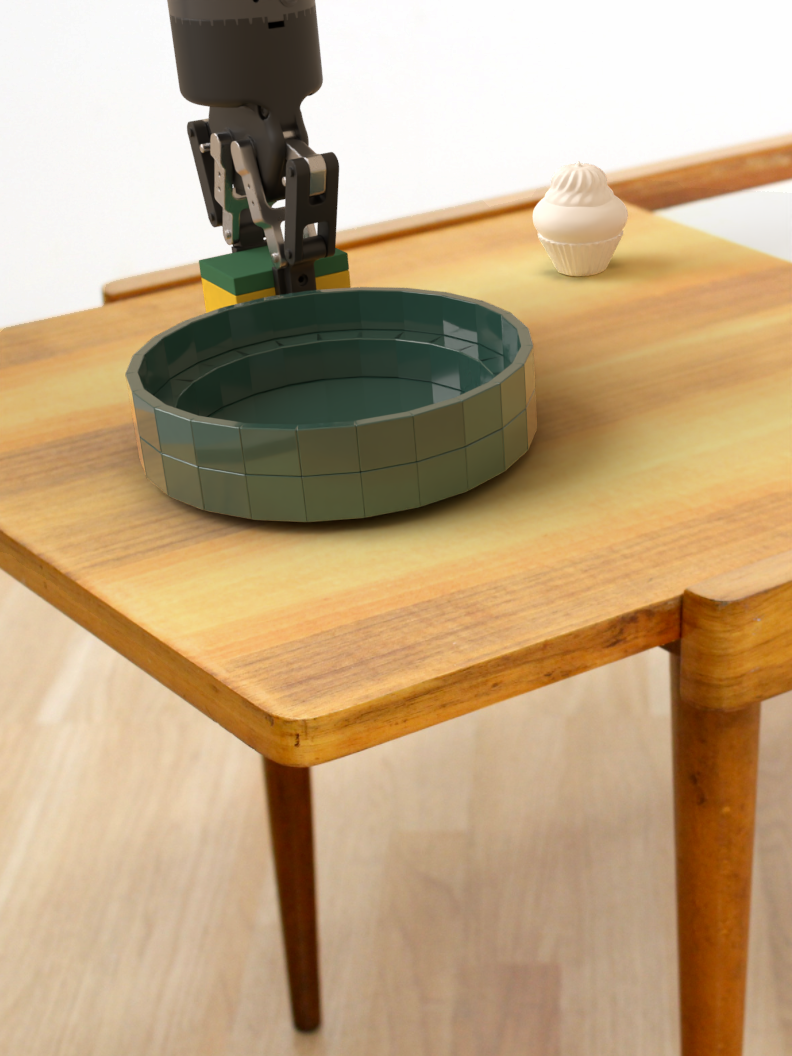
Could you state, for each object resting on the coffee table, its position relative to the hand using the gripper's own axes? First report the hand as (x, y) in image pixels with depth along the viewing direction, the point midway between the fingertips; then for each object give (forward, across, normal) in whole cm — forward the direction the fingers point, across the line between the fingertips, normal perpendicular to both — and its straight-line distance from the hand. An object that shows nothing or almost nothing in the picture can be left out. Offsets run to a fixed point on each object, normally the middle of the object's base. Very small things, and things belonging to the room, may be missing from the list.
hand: (279, 316), depth 88 cm
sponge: (+1, 0, 0) cm, 1 cm away
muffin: (+2, -1, +22) cm, 22 cm away
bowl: (+2, +14, -4) cm, 15 cm away
